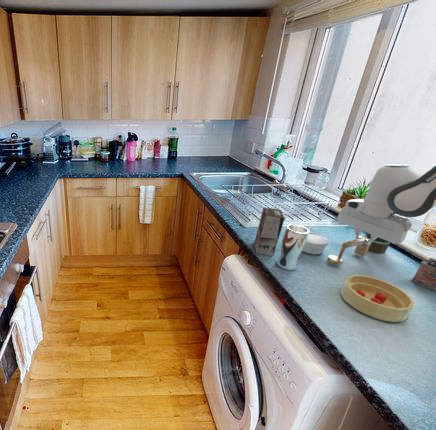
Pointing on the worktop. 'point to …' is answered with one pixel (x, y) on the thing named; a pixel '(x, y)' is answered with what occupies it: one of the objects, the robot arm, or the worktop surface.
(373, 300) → the tomato
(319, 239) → the ramekin
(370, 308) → the bowl
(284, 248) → the beer glass
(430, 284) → the red printed box
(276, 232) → the coffee box
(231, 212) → the worktop surface
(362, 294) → the tomato
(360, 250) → the brass bent handle
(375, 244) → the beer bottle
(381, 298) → the tomato
